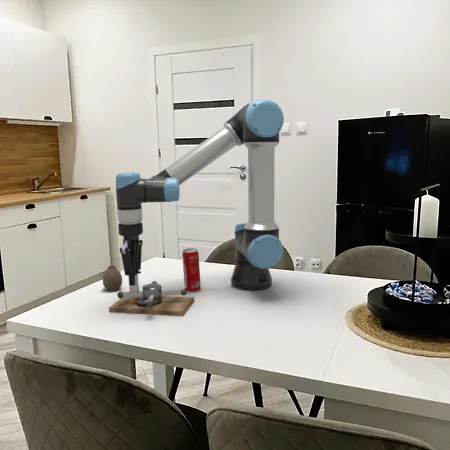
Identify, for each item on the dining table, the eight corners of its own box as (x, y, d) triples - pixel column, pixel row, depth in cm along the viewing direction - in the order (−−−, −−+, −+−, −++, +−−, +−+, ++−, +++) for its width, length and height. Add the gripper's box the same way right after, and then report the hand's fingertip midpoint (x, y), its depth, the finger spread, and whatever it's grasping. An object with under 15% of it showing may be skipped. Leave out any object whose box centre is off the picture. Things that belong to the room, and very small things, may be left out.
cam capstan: (187, 289, 157) (186, 275, 156) (187, 312, 135) (186, 296, 134) (122, 292, 155) (121, 278, 154) (112, 315, 134) (111, 299, 133)
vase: (120, 292, 161) (118, 268, 160) (100, 292, 161) (99, 268, 160) (124, 286, 168) (123, 263, 167) (106, 286, 168) (104, 263, 167)
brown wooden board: (194, 301, 150) (194, 296, 149) (181, 317, 136) (181, 311, 136) (126, 298, 154) (125, 293, 154) (107, 313, 141) (107, 307, 140)
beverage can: (201, 287, 165) (200, 247, 162) (199, 293, 158) (197, 251, 156) (185, 287, 165) (184, 247, 163) (182, 293, 159) (180, 251, 157)
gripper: (127, 218, 149) (131, 287, 153) (110, 225, 137) (114, 300, 141) (149, 219, 148) (152, 288, 152) (133, 226, 135) (137, 301, 139)
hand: (134, 294), depth 146 cm, fingers closed
